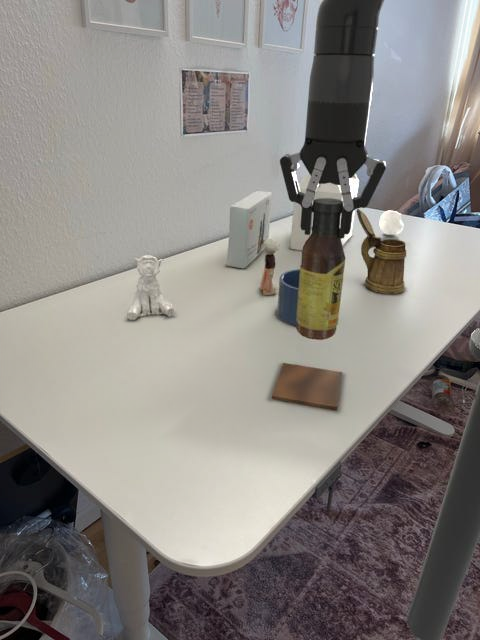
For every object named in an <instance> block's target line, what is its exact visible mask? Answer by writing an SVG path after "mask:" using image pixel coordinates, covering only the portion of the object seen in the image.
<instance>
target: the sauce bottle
mask: <svg viewBox="0 0 480 640" xmlns="http://www.w3.org/2000/svg"><path fill="white" fill-rule="evenodd" d="M342 209H343V201H342V200H339V199H334V198H318V199H315V200H314V201H313V214H314V215H313V226H312V234H311V235H310V237H309V238H308V240H306V242H305V244H304V246H303V249H302V251H301V259H300V260H301V263H300V267H299V269H300V277H299V290H298V302H297V317H296V321H297V325H296V326H295V327H296V331H297V333H298V334H299V335H300V336H302V337H303V338H307V339H310V340H317V341H323V340H327V339H330V338H333V336H335V334H336V332H337V327H338V325H339V316H340V308H341V301H342V293H343V292H342V291H343V285H344V284H343V283H344V275H345V268H346V267H345V266H346V254H345V250H344V247H343V246H344V245H343V246H342V242H341V238H339V231H340V219H341V213H342Z"/></svg>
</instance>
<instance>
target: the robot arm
mask: <svg viewBox="0 0 480 640" xmlns="http://www.w3.org/2000/svg"><path fill="white" fill-rule="evenodd" d="M384 2H385V0H322V1H321V3H320V4H319V7H318V10H317V16H316V23H315V32H314V33H315V34H314V47H313V57H312V64H311V70H310V75H309V82H308V96H307V97H308V98H307V107H306V108H307V109H306V122H305V133H304V134H305V135H304V142H303V146H302V147H301V149H300V151H299V152H295V153H292V154H289V153H286V154H284V155H282V157H281V158H280V159H279V164H280V169H281V172H282V177H283V180H284V184H285V188H286V192H287V197H288V200H289V201H290V202H292V203H294V202H296V203H298V204H300V205H301V207H302V213H301V225H300V227H301V230H305V235H310V233H311V230H312V220H313V205H312V202H313V199H314V196H315V194H316V191H317V189H318V186H319V184H326V183H332V184H335V185H340V186H341V193H342V196H343V203H344V208H343V209H342V214H341V223H340V231H339V238H344V236H345V234H349V232H350V229H351V222H352V215H353V211H354V210H355V211H356V210H357V209H361V208H362V209H365V208H367V207H368V206H369V204H370V202H371V200H372V198H373V195H374V194H375V192H376V190H377V187H378V185H379V184H380V182H381V179H382V178H383V176H384V174H385V172H386V169H387V163H386V161H385V160H383V159H376V158H374V157H371V156H369V155H368V151H367V148H366V140H367V139H366V138H367V132H368V125H369V117H370V108H371V102H372V97H373V93H374V92H373V91H374V89H373V85H374V79H375V52H376V46H377V38H378V30H379V23H380V13H381V11H382V8H383V5H384ZM300 161H301V162H302V163H303V165H304V168H305V169H306V170H307V172H309V174H310V175H311V178H310V181H309V183H308V186H307V189H306V192H305V194H304V193H302V192H300V189H299V185H298V184H299V180H298V176H297V174H296V171H297V170H298V169H299V167H300V164H299V163H300ZM364 165H365V166H366V168H367V169H366V175H367V176H368V177H369V178H368V180H367V182H366V184H365V185H364V188H363V190H362V192H361V193H360V195H358V196H357V197H355V198H354V195H353V186H352V179H351V178H352V177H353V176H354V175H355V174H356V175H357V173H358V172H359V170H360V169H361V168H362V167H363V166H364Z"/></svg>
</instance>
